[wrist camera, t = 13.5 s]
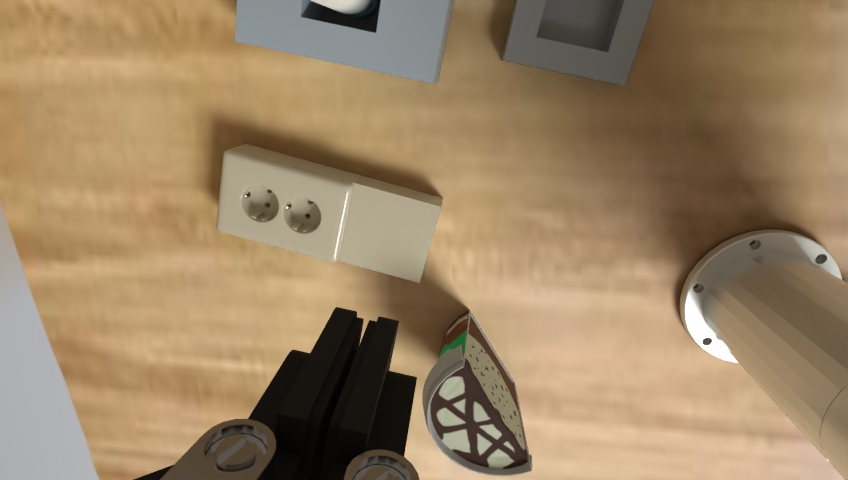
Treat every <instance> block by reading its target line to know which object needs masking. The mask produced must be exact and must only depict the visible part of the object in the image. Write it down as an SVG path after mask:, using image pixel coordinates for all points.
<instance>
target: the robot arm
mask: <svg viewBox="0 0 848 480" xmlns="http://www.w3.org/2000/svg"><path fill="white" fill-rule="evenodd" d="M680 314H681V320H682V322H683V325H684V327H685V329H686V331H687V332H688V334H689V335H690V336H691V338H692V339H693V340H694V341H695V342H696V344H697V345H698V346H699V347H700V348H702V349H703V350H705V351H706V352H707V353H709V354H710V355H712V356H715V357H717V358H720V359H722V360H726V361H730V362H735V363H739V364H740V365H741V366H742V367H743V368H744V369H745V371H746V372H747V373H748V374H749V375H750V376H751V377H752V378H753V379H754V380H755V382H756V383H757V384H758V385H759V386H760V387H761V388H762V389H763V390H764V391H765V393H766V394H767V395H768V396H769V397H770V398H771V399H772V400H773V401H774V402H775V404H776V405H777V406H778V407H779V408H780V409H781V410H782V411H783V412H784V413H785V415H786V416H787V417H788V418H789V419H790V420H791V421H792V422H793V423H794V424H795V426H796V427H797V428H798V429H799V430H800V431H801V432H802V433H803V434H804V435H805V437H806V438H807V439H808V440H809V441H810V442H811V443H812V444H813V445H814V446H815V448H816V449H817V450H818V451H819V452H820V453H821V454H822V455H823V456H824V457H825V458H826V459H827V460H828V461H829V462H830V464H831V465H832V466H833V467H834V468H835V469H836V470H837V471H838V472H839V473H840V475H841V476H842V477H843V478H844V479H845V480H848V283H846V282H844V281H843V280H842V275H841V272H840V269H839V266H838V264H837V262H836V261H835V259H834V257H833V256H832V254H831V253H830V252H828V251H827V250H826V249H825V248H824V247H823V246H822V245H820V244H818V243H817V242H815V241H813V240H811V239H810V238H807V237H805V236H803V235H800V234H798V233H795V232H790V231H786V230H771V229H767V230H759V231H752V232H748V233H745V234H742V235H738V236H735V237H733V238H731V239H729V240H727V241H725V242H723V243H721V244H720V245H718V246H717V247H715V248H714V249H712V250H711V251H709V252H708V253H707V254H706V255H705V256H704V257H703V258H702V259H701V260H699V261H698V263H697V264H696V265H695V267H694V268H693V269H692V270H691V272H690V273H689V275H688V277H687V279H686V281H685V283H684V285H683V289H682V292H681V296H680ZM398 324H399V321H397V320H392V319H388V318H383V317H378V320H377V322H376V321H371V320H369V322H368V325H367V328H366V330H365V333H364V335H363V338H362V340H361V343H360V338H361V332H362V327H363V319H362V318H357V312H356V311H352V310H347V309H343V308H338V307H336V308H335V310H334V311H333V313H332V315H331V317H330V319H329V320H328V322H327V324H326V326H325V328H324V330H323V331H322V333H321V335H320V337H319V339H318V340H317V342H316V344H315V346H314V348H313V350H312V351H311V353H306V352H301V351H297V350H292V351H291V352H290V353H289V354H288V356H287V357H286V359H285V361H284V362H283V364H282V365H281V367H280V369H279V370H278V372H277V373H276V375H275V377H274V378H273V380H272V381H271V383H270V385H269V386H268V388H267V389H266V391H265V393H264V394H263V396H262V397H261V399H260V401H259V402H258V404H257V405H256V407H255V409H254V410H253V412H252V413H251V415H250V417H249V418H248V419H234V420H230V421H225V422H222V423H220V424H218V425H216V426H214V427H212V428H211V429H210V430H208V431H207V432H206V433H205V434H203V435H202V436H201V437H200V438H199V439H198V441H197V442H196V443H195V444H194V445H193V446H192V447H191V448H190V449H189V450H188V451H187V452H186V453H185V454H184V455H183V456H182V457H181V458H180V459H179V460H178V461H177V462H176V463H175V464H174V465H172V466H169V467H166V468H164V469H161V470H158V471H156V472H153V473H150V474H148V475H145V476H142V477H140V478H137V479H134V480H419V477H418V473H417V471H416V470H415V468H414V466H413V465H412V464H411V463H410V462H409V461H408V460H407V459H406V458H405V457H404V453H405V447H406V441H407V434H408V428H409V422H410V416H411V410H412V404H413V398H414V392H415V386H416V380H417V377H414V376H409V375H405V374H400V373H396V372H391V371H389V368H390V363H391V358H392V353H393V349H394V344H395V339H396V334H397V329H398ZM359 344H360V346H359Z"/></svg>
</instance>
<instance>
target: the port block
mask: <svg viewBox="0 0 848 480" xmlns="http://www.w3.org/2000/svg"><path fill="white" fill-rule="evenodd" d="M453 3H454V0H381V3H380V6H379V8H378V9H377V11H376V12H375V13H374V14H373V15H371V16H369V17H367V18H363V19H357V18H353V17H350V16H348V15H345V14H343V13H340V12H338V11H336V10H333V9H331V8H328V7H326V6H323V5H321V4H318V3H316V2H313V1H311V0H237V11H236V33H235V42H240V43H245V44H249V45H254V46H259V47H263V48H268V49H273V50H277V51H282V52H287V53H291V54H296V55H301V56H305V57H310V58H315V59H320V60H324V61H329V62H334V63H338V64H343V65H348V66H352V67H357V68H362V69H366V70H371V71H376V72H380V73H385V74H390V75H394V76H399V77H404V78H408V79H413V80H418V81H422V82H427V83H432V84H434V83H436V82H438V78H439V73H440V68H441V63H442V58H443V53H444V48H445V43H446V38H447V33H448V28H449V23H450V18H451V13H452V8H453Z"/></svg>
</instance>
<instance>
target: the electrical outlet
mask: <svg viewBox="0 0 848 480" xmlns="http://www.w3.org/2000/svg"><path fill="white" fill-rule="evenodd" d="M442 200H443V198H441V197H438V196H434V195H430V194H427V193H423V192H420V191H416V190H412V189H409V188H405V187H401V186H398V185H394V184H391V183H387V182H383V181H380V180H376V179H372V178H369V177H365V176H362V175H358V174H354V173H351V172H347V171H343V170H340V169H336V168H333V167H329V166H325V165H322V164H318V163H314V162H311V161H307V160H304V159H300V158H296V157H293V156H289V155H285V154H282V153H278V152H275V151H271V150H267V149H264V148H260V147H256V146H253V145H249V144H243V145H240V146H237V147H234V148H231V149H228V150H226V151H225V152H224V154H223V163H222V173H221V183H220V193H219V203H218V213H217V223H216V229H217V230H218V231H220V232H223V233H227V234H230V235H234V236H238V237H241V238H245V239H249V240H252V241H256V242H260V243H263V244H267V245H271V246H274V247H278V248H281V249H285V250H289V251H292V252H296V253H300V254H303V255H307V256H311V257H314V258H318V259H322V260H325V261H329V262H337V261H340V262H344V263H348V264H351V265H355V266H359V267H362V268H366V269H370V270H373V271H377V272H381V273H384V274H388V275H392V276H395V277H399V278H402V279H406V280H410V281H413V282H417V283H420V280H421V276H422V273H423V269H424V266H425V262H426V259H427V255H428V252H429V248H430V245H431V241H432V238H433V234H434V231H435V227H436V224H437V220H438V216H439V213H440V209H441V205H442Z"/></svg>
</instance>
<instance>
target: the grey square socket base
mask: <svg viewBox="0 0 848 480" xmlns="http://www.w3.org/2000/svg"><path fill="white" fill-rule="evenodd" d="M653 2H654V0H515V5H514V9H513V13H512V17H511V21H510V25H509V29H508V34H507V38H506V42H505V46H504V50H503V54H502V58H501V60H503V61H507V62H512V63H517V64H522V65H526V66H531V67H536V68H540V69H545V70H550V71H555V72H559V73H564V74H569V75H573V76H578V77H583V78H587V79H592V80H597V81H602V82H606V83H611V84H616V85H625V84H626V81H627V78H628V75H629V72H630V69H631V66H632V64H633V61H634V58H635V55H636V52H637V49H638V46H639V43H640V40H641V37H642V34H643V31H644V28H645V25H646V22H647V19H648V16H649V13H650V10H651V7H652V4H653Z"/></svg>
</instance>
